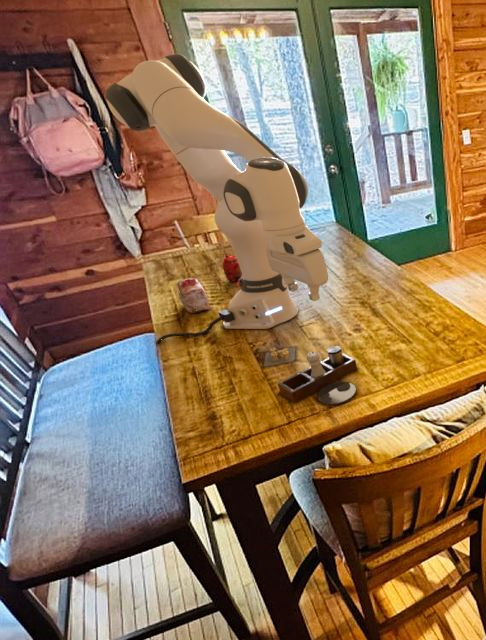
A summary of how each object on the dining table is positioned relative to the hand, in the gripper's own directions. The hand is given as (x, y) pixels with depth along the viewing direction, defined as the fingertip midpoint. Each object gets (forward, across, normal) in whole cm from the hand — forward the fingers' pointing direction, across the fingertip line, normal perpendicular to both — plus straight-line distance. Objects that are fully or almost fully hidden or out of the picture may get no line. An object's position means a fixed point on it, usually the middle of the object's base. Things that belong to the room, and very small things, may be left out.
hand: (304, 295), depth 115 cm
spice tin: (+22, +2, +3) cm, 22 cm away
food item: (+21, -73, -4) cm, 76 cm away
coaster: (+22, +10, -4) cm, 25 cm away
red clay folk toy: (+22, -87, +17) cm, 91 cm away
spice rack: (+22, +2, -3) cm, 22 cm away
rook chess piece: (+22, +2, -3) cm, 22 cm away
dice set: (+22, -18, -3) cm, 29 cm away
